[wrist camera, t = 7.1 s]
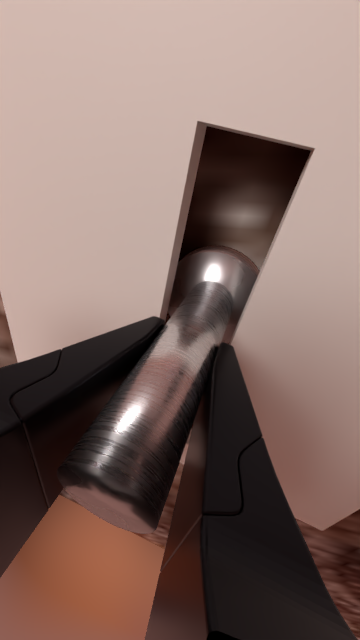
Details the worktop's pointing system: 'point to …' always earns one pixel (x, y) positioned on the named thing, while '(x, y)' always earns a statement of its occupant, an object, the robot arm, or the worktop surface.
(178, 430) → the steel peg
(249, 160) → the worktop surface
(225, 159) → the worktop surface
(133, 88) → the keyhole board
